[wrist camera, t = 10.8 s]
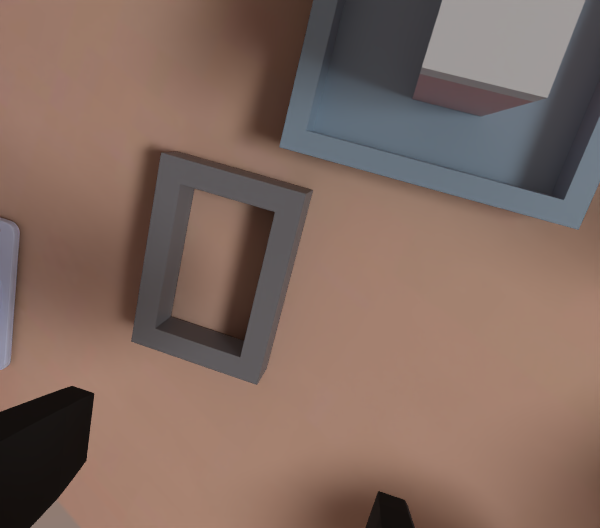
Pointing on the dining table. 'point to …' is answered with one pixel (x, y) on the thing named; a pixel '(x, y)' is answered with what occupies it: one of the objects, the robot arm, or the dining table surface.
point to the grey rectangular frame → (168, 252)
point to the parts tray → (444, 113)
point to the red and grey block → (495, 53)
